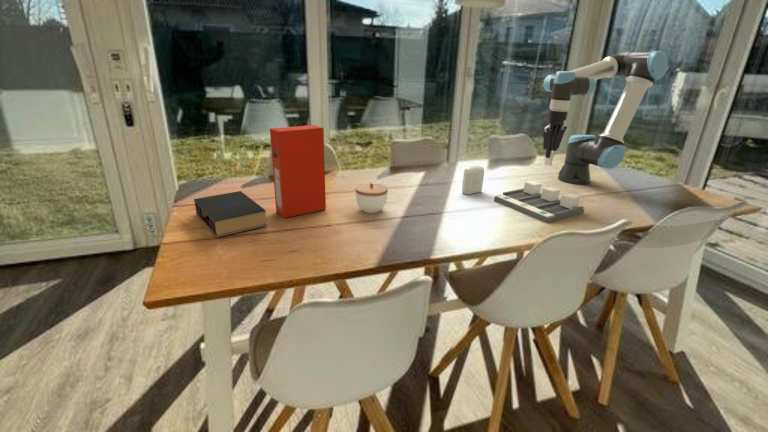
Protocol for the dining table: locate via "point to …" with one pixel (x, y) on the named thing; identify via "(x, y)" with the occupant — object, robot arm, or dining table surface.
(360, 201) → the lidded bowl
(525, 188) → the tab
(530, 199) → the dark grey slotted tray
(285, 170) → the file binder
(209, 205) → the book
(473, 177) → the photo printer
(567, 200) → the tab
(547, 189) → the middle tab
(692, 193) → the dining table surface
